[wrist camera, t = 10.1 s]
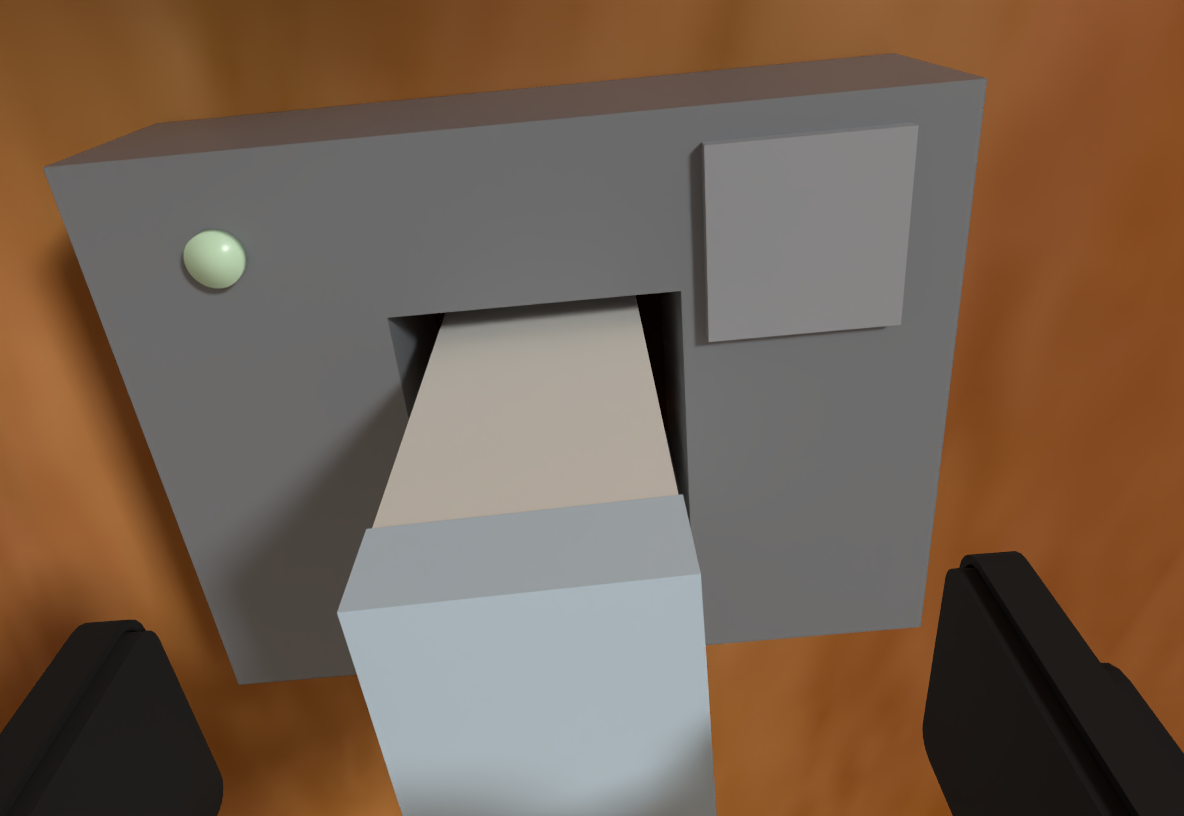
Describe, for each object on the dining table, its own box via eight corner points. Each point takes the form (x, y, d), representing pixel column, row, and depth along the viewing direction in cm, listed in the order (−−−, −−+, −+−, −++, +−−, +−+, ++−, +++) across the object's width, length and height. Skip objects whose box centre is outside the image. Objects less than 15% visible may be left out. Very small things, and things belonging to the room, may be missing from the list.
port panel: (894, 53, 18) (994, 80, 14) (860, 515, 24) (925, 635, 20) (155, 123, 18) (33, 171, 14) (292, 565, 24) (234, 694, 20)
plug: (628, 251, 20) (700, 573, 9) (642, 404, 22) (716, 816, 11) (456, 271, 20) (337, 612, 10) (485, 421, 22) (412, 847, 11)
